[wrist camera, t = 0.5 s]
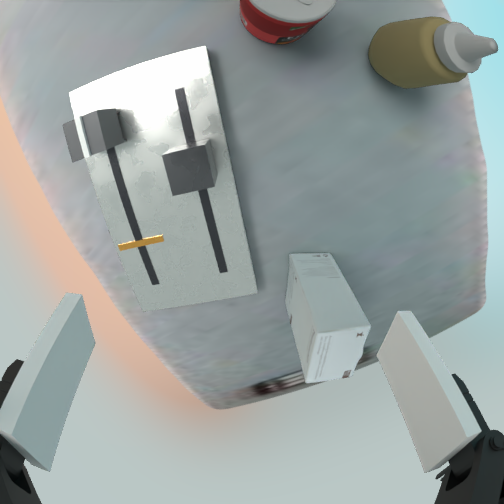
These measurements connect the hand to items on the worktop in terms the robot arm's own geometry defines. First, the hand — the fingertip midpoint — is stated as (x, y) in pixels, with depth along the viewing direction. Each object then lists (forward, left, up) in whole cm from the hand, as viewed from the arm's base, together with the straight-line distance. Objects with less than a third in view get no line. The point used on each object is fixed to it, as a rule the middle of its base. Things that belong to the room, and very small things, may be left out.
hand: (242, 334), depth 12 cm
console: (0, -8, -26) cm, 27 cm away
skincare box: (+16, +7, -26) cm, 31 cm away
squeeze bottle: (-12, +21, -26) cm, 35 cm away
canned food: (-18, +8, -26) cm, 33 cm away
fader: (-9, -13, -23) cm, 28 cm away
